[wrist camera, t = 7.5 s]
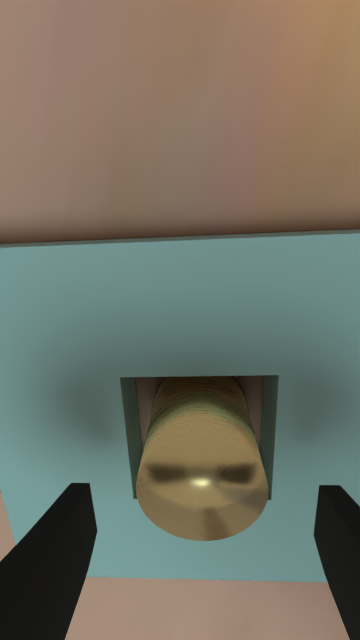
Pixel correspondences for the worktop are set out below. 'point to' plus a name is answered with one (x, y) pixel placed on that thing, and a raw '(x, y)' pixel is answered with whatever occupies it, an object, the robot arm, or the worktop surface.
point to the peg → (201, 460)
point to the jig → (178, 361)
